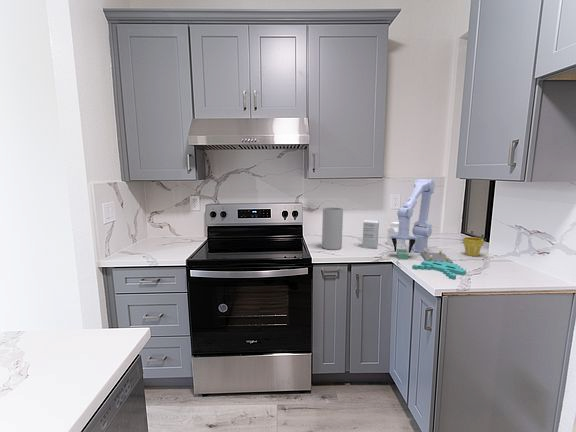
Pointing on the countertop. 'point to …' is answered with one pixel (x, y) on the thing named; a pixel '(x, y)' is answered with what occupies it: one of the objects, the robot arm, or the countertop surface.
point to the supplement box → (370, 234)
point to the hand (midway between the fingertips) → (402, 251)
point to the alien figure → (441, 268)
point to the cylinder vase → (332, 228)
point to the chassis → (435, 256)
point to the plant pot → (472, 245)
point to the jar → (394, 231)
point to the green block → (402, 254)
